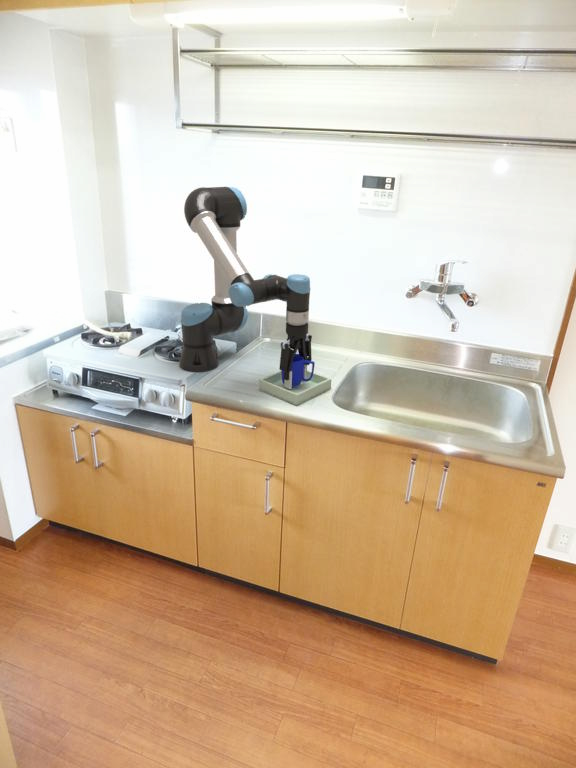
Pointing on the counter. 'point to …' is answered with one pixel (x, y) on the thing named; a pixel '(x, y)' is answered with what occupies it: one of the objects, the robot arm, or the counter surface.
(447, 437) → the counter surface
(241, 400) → the counter surface
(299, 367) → the mug
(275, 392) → the tray
